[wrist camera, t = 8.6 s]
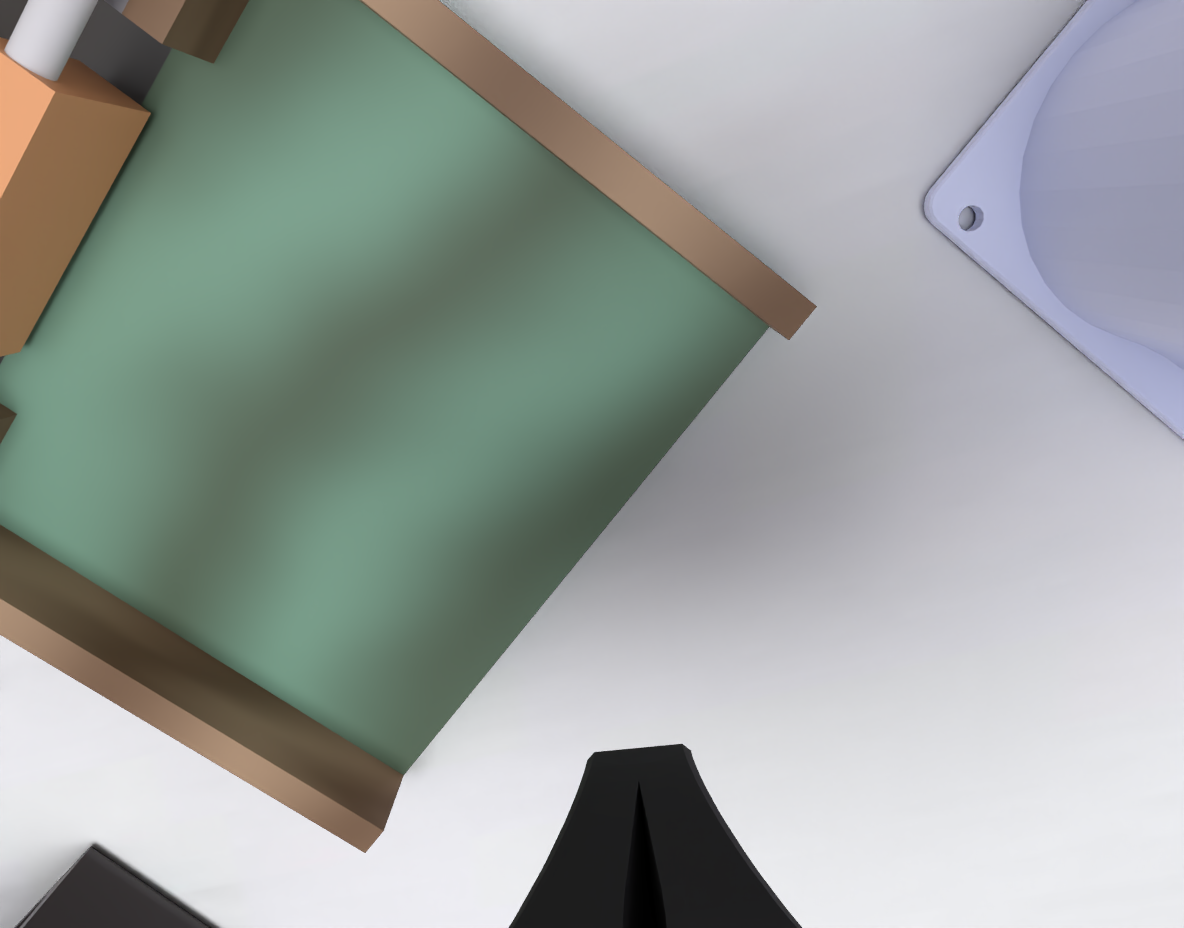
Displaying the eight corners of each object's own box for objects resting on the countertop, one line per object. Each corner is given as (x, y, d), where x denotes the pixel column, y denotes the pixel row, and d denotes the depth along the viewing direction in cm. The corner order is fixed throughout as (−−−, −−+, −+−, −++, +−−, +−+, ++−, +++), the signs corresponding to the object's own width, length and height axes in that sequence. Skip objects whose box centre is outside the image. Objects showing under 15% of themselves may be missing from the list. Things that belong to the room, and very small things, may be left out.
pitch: (784, 292, 19) (816, 307, 16) (396, 771, 22) (365, 853, 20) (-138, -452, 15) (-313, -608, 12) (-411, 269, 19) (-594, 279, 16)
